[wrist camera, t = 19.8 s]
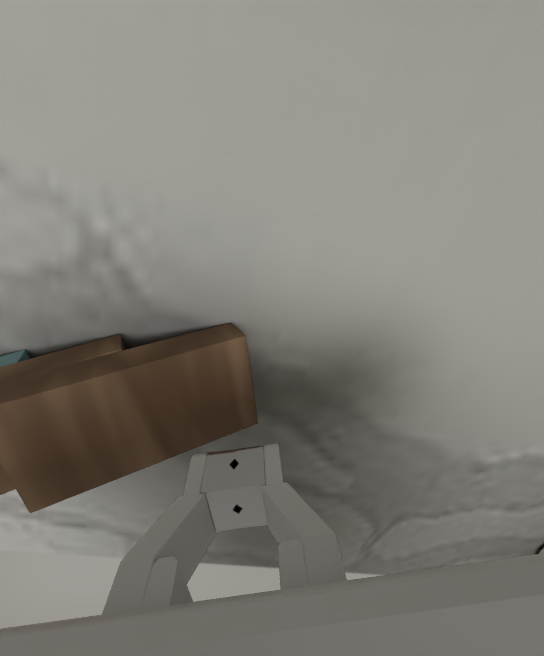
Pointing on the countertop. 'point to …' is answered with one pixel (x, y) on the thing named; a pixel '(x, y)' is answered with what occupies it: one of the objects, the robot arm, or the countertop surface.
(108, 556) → the countertop surface
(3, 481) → the domino
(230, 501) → the robot arm
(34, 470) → the domino
